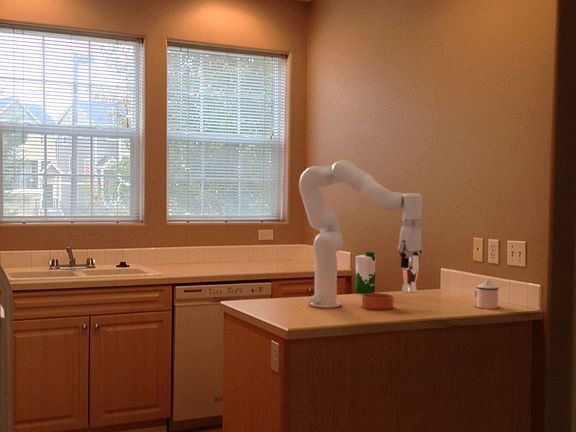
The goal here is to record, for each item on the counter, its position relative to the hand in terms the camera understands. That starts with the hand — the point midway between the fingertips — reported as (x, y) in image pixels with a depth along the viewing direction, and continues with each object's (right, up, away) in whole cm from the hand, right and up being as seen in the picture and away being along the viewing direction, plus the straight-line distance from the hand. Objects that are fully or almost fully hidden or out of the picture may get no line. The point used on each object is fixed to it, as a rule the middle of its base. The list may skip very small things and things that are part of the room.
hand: (410, 266), depth 268 cm
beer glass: (0, -10, 0) cm, 10 cm away
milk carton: (-12, -17, +50) cm, 54 cm away
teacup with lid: (+35, -19, +15) cm, 43 cm away
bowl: (-12, -18, +11) cm, 24 cm away
